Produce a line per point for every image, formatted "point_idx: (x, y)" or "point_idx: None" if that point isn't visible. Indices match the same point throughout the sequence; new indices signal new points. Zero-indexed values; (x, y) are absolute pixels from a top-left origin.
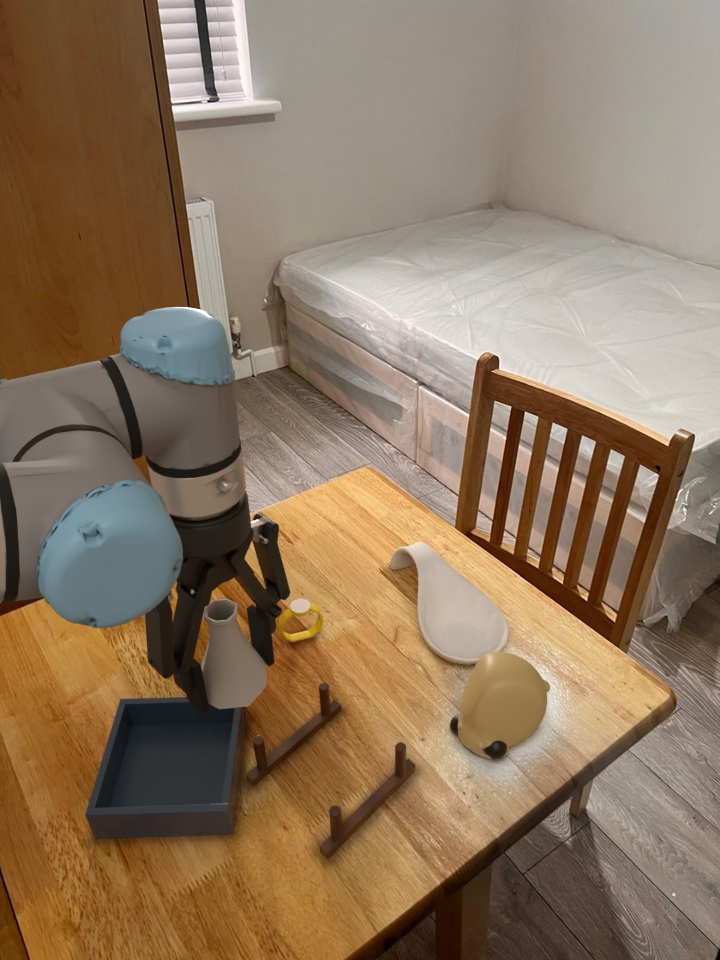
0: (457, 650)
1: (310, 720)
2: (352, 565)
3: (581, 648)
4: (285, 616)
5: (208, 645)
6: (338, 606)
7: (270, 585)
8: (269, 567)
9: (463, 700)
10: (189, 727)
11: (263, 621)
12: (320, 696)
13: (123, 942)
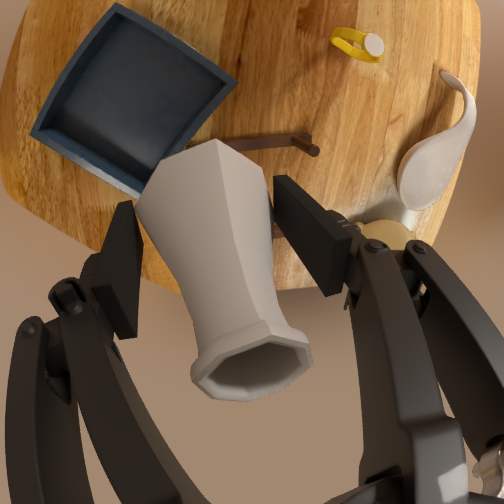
0: (406, 176)
1: (278, 138)
2: (425, 37)
3: (433, 225)
4: (353, 36)
5: (181, 269)
6: (389, 53)
7: (414, 272)
8: (446, 371)
9: (372, 237)
10: (171, 56)
11: (325, 295)
12: (303, 148)
13: (50, 219)
